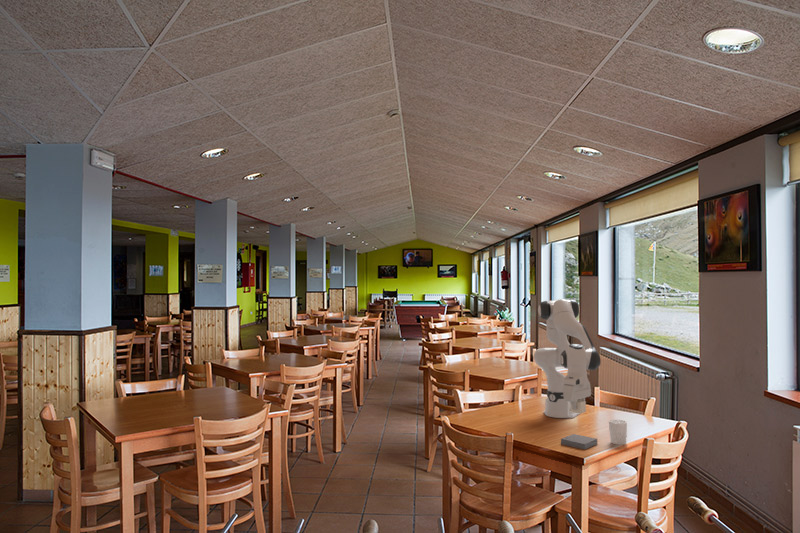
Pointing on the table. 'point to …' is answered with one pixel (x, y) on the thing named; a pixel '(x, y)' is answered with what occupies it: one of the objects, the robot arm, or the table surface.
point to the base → (579, 441)
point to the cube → (579, 407)
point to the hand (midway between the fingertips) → (578, 408)
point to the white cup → (618, 431)
